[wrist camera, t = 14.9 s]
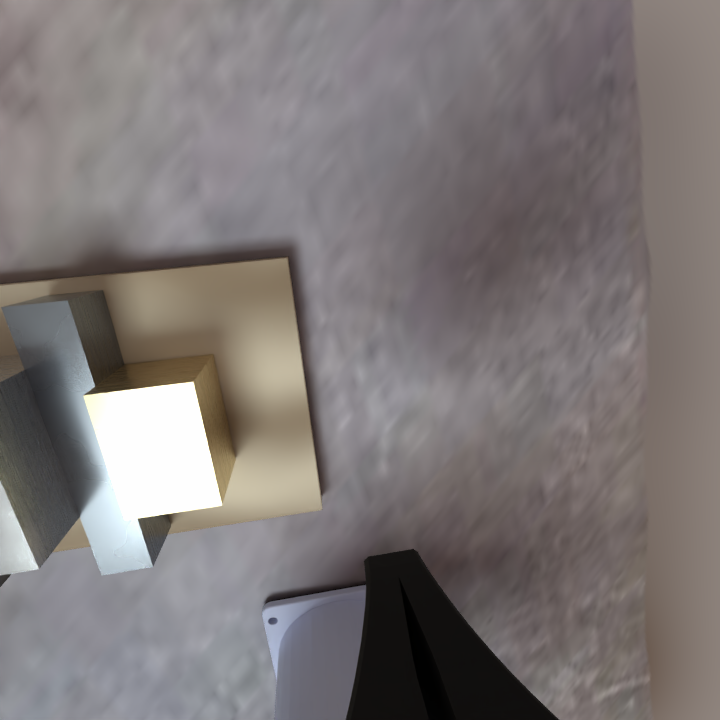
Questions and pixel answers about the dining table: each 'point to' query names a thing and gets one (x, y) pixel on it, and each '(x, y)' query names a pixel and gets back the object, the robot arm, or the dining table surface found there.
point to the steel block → (28, 478)
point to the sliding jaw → (122, 426)
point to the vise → (234, 367)
